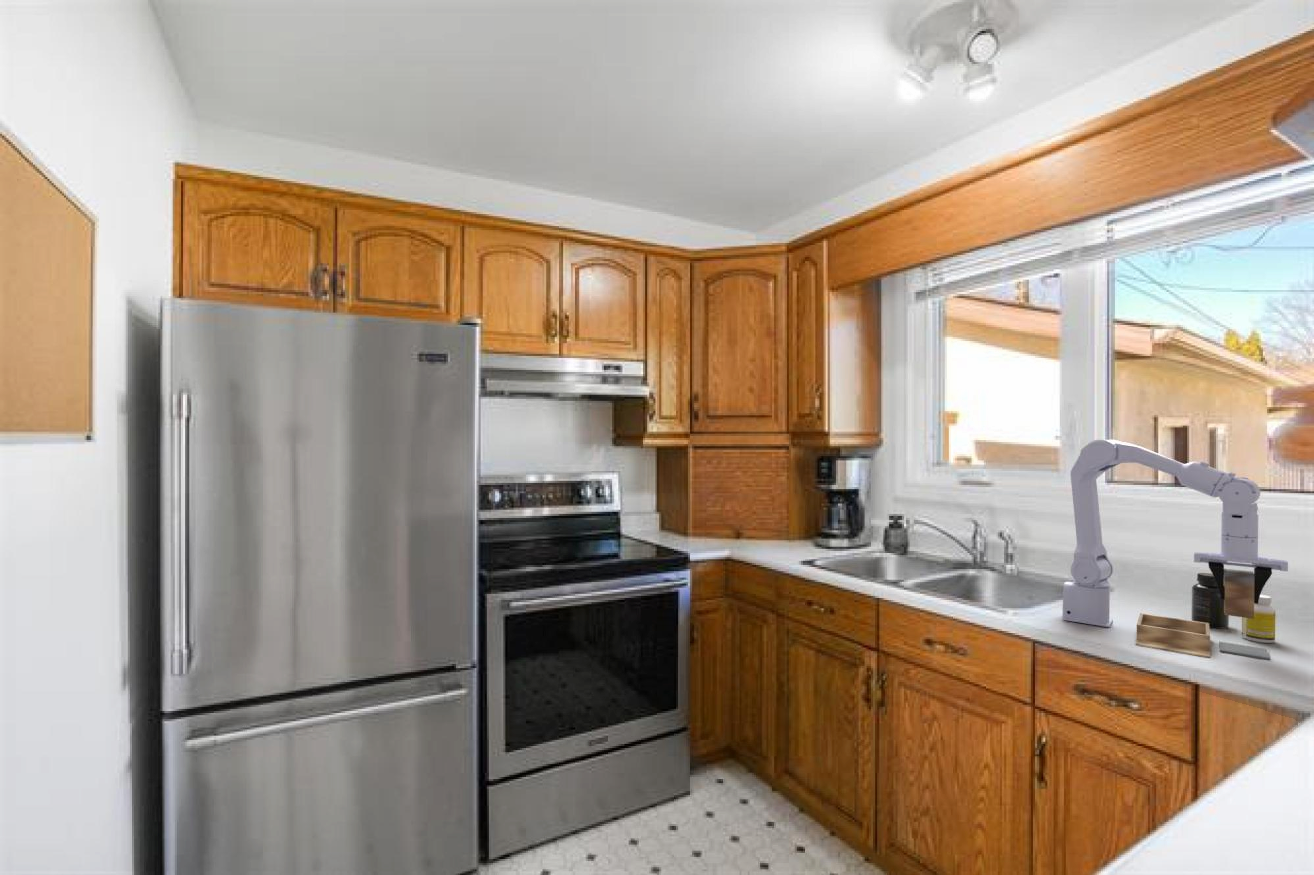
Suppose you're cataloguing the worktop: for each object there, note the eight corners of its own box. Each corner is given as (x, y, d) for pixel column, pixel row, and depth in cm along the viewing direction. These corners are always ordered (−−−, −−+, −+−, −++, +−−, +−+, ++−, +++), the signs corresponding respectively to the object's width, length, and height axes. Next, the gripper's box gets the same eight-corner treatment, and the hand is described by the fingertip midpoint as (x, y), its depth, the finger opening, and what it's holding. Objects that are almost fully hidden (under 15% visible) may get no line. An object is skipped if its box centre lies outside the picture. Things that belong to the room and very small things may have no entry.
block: (1224, 614, 135) (1225, 571, 135) (1223, 610, 138) (1224, 568, 138) (1254, 618, 132) (1254, 574, 132) (1252, 614, 135) (1252, 571, 135)
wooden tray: (1135, 644, 138) (1135, 628, 138) (1141, 624, 153) (1141, 609, 153) (1210, 657, 130) (1210, 640, 130) (1208, 634, 146) (1208, 619, 146)
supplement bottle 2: (1281, 644, 139) (1282, 599, 139) (1252, 642, 140) (1253, 597, 140) (1263, 636, 145) (1264, 593, 145) (1235, 635, 146) (1236, 591, 146)
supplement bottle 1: (1236, 629, 150) (1237, 578, 150) (1203, 628, 151) (1204, 577, 151) (1215, 621, 157) (1216, 572, 157) (1184, 619, 158) (1185, 571, 158)
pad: (1220, 651, 134) (1220, 649, 134) (1219, 643, 140) (1219, 641, 140) (1269, 660, 129) (1269, 658, 129) (1266, 650, 135) (1266, 648, 135)
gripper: (1194, 534, 136) (1193, 598, 136) (1289, 541, 127) (1289, 610, 127) (1194, 530, 142) (1193, 592, 142) (1286, 537, 133) (1285, 603, 133)
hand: (1238, 600), depth 135 cm, fingers closed on block, 4 cm apart
